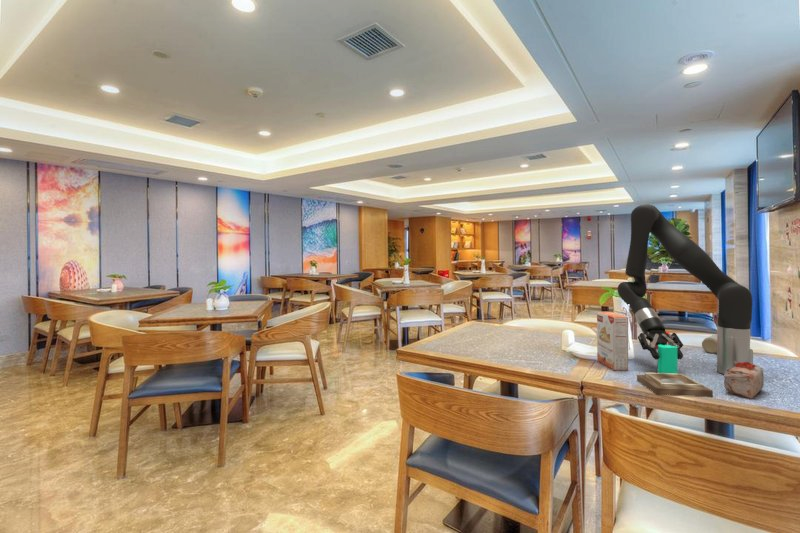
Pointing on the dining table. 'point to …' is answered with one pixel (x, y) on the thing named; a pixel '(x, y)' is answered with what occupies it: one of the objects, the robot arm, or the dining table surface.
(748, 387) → the food item
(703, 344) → the beige rounded cylinder
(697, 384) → the walnut base board
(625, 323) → the cracker box
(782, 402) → the dining table surface
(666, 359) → the candle
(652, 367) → the dining table surface
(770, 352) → the dining table surface
